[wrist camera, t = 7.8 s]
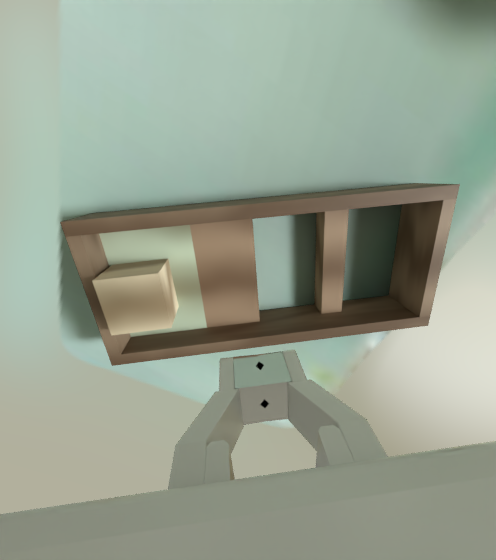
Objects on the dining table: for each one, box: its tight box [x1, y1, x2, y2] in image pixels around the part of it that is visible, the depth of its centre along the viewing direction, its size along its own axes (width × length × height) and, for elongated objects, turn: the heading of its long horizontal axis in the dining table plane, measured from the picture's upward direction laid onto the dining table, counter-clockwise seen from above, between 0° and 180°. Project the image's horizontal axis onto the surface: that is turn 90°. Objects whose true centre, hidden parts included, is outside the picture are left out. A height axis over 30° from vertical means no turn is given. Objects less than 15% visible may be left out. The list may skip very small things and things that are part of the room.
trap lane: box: [60, 183, 460, 366], centre depth 22 cm, size 12×28×4 cm, turn 94°
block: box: [92, 259, 179, 336], centre depth 20 cm, size 4×4×4 cm
